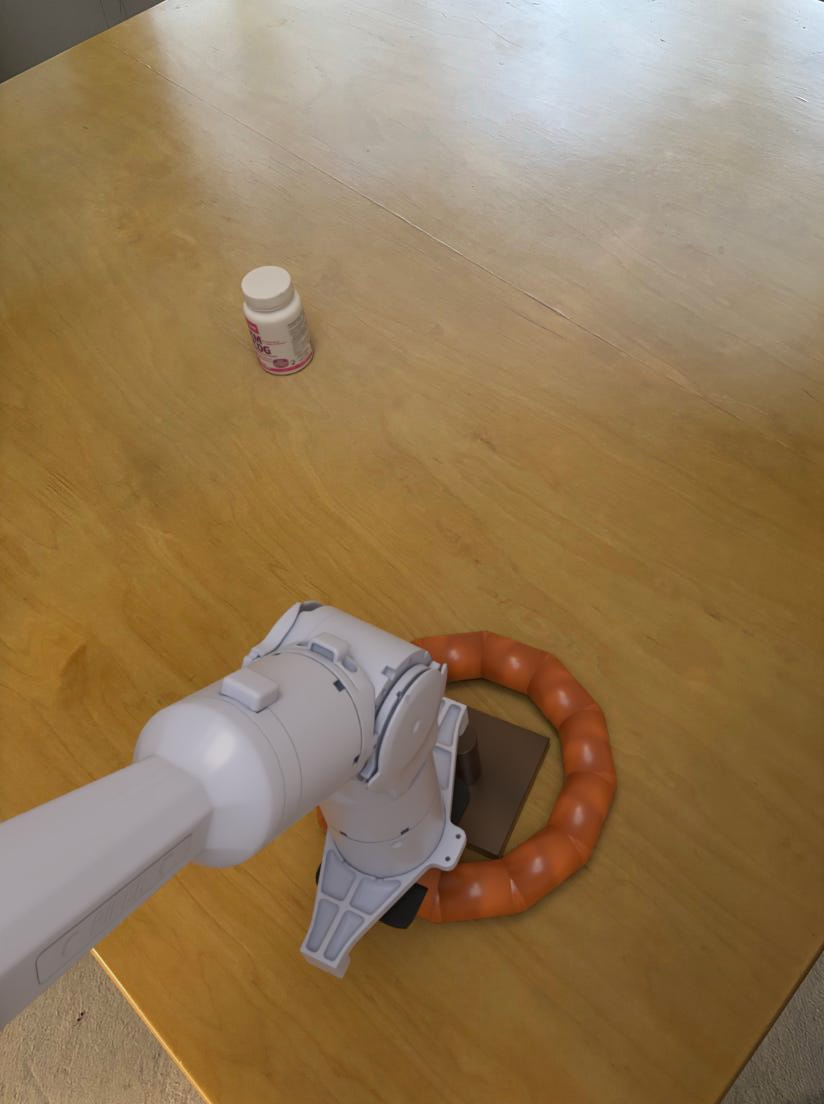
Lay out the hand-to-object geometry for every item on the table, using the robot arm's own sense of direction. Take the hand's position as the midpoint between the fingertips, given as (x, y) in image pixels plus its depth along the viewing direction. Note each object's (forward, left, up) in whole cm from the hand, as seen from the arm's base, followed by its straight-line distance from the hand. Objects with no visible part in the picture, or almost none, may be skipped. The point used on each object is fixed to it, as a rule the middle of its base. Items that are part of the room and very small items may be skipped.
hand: (408, 881), depth 61 cm
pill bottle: (+36, +30, -2) cm, 47 cm away
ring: (+8, 0, 0) cm, 8 cm away
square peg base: (+8, 0, -2) cm, 8 cm away
